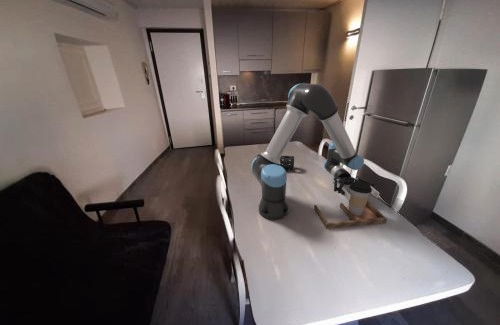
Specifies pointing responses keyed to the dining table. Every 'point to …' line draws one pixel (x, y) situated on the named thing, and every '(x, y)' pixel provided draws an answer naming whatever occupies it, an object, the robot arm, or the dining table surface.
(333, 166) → the robot arm
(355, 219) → the divided wooden tray
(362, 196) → the coffee cup
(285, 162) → the muzzle brake
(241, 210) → the dining table surface
